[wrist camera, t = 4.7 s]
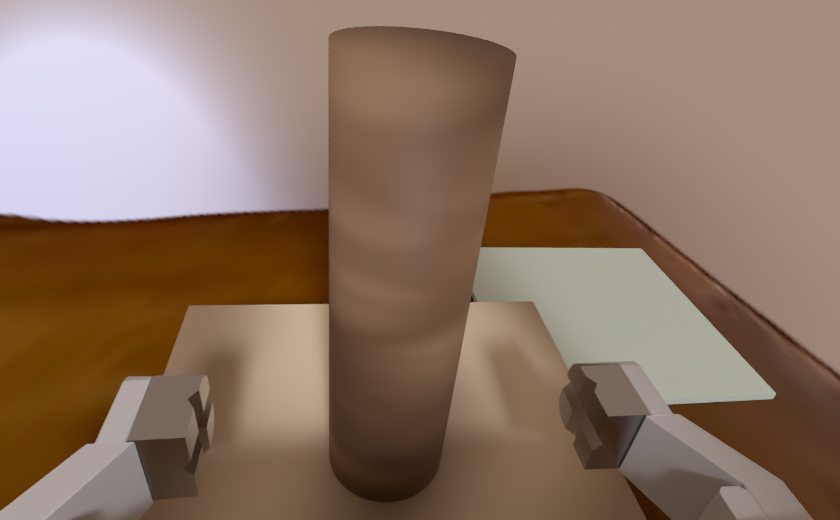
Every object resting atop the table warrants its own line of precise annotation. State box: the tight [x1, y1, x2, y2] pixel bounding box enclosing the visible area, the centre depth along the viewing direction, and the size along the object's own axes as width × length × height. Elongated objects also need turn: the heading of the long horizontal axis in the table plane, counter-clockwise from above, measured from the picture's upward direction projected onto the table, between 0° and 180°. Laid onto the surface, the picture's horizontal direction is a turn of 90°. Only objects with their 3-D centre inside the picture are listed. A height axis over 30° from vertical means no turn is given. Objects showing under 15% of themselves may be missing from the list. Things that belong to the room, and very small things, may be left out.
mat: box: [472, 247, 776, 404], centre depth 31 cm, size 14×14×1 cm
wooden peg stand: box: [139, 26, 647, 520], centre depth 13 cm, size 14×14×17 cm
